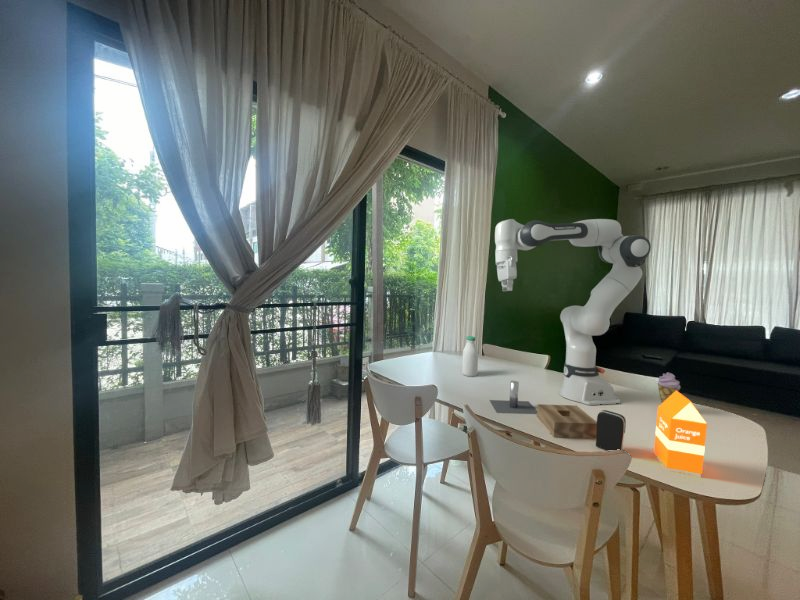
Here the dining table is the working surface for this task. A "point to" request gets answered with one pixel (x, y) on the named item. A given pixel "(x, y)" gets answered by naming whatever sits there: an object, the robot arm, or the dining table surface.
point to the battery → (610, 430)
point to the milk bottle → (470, 358)
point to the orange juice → (680, 434)
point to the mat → (522, 408)
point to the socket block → (567, 421)
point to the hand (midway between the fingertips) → (507, 291)
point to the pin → (513, 394)
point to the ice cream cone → (667, 386)
